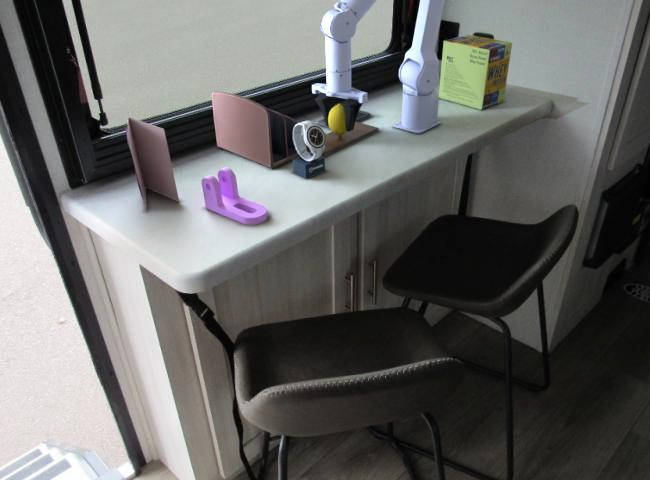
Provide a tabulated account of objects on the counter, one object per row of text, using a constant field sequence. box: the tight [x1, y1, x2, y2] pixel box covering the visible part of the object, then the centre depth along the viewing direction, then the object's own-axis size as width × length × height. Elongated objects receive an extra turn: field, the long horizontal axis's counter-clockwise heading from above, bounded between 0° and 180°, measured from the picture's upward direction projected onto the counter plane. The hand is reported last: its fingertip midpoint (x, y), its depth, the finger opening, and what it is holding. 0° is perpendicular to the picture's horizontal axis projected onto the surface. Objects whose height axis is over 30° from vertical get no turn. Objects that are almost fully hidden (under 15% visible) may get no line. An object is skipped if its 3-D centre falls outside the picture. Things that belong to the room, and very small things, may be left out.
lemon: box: [328, 103, 348, 137], centre depth 136 cm, size 6×6×8 cm
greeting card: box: [124, 116, 180, 210], centre depth 113 cm, size 11×7×15 cm, turn 16°
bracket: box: [201, 167, 268, 225], centre depth 109 cm, size 13×6×7 cm, turn 52°
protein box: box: [438, 34, 513, 111], centre depth 157 cm, size 10×15×16 cm
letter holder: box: [211, 91, 301, 170], centre depth 131 cm, size 10×20×14 cm, turn 47°
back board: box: [304, 121, 380, 157], centre depth 139 cm, size 20×8×1 cm, turn 138°
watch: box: [292, 120, 327, 180], centre depth 121 cm, size 6×8×11 cm
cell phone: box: [317, 109, 372, 129], centre depth 150 cm, size 7×14×1 cm, turn 137°
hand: (339, 127), depth 137 cm, fingers closed on lemon, 5 cm apart
